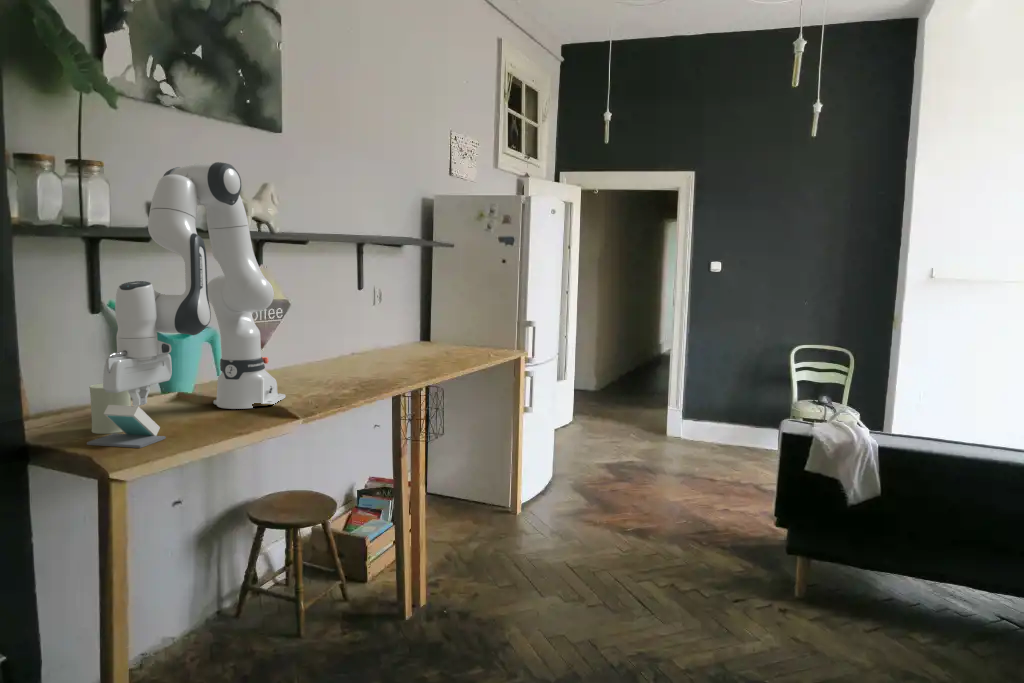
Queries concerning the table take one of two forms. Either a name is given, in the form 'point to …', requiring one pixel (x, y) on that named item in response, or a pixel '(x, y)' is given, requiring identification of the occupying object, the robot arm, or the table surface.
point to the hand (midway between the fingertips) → (139, 405)
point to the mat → (126, 440)
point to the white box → (131, 420)
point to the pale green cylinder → (99, 405)
